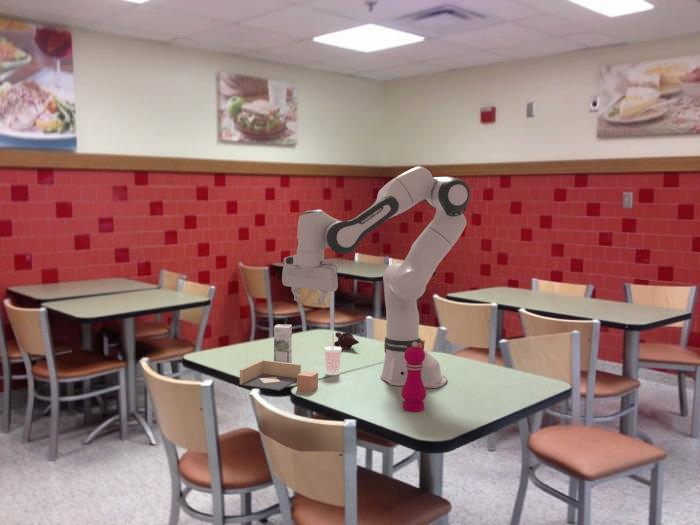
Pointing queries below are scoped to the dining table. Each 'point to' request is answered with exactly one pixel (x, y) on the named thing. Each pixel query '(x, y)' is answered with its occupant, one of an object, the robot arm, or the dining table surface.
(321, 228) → the robot arm
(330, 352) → the beverage cup
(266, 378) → the arena
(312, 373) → the cube
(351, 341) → the brown gnome figurine
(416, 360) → the pepper mill
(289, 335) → the syrup box
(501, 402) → the dining table surface
